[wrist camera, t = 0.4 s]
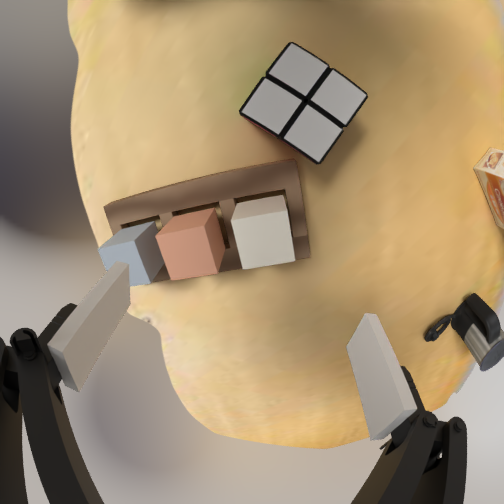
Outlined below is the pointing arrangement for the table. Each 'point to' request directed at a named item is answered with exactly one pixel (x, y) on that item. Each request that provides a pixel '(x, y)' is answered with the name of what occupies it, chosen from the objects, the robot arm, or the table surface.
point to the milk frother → (475, 331)
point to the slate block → (135, 252)
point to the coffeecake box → (493, 182)
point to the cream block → (263, 232)
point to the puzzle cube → (303, 102)
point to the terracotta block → (192, 244)
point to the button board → (222, 190)
